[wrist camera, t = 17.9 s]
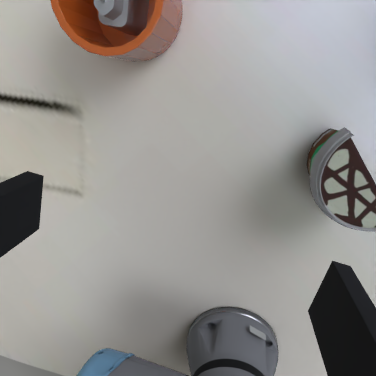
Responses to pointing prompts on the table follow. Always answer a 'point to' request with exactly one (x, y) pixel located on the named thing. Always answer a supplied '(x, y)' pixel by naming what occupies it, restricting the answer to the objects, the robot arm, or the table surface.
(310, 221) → the table surface
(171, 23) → the orange flower pot
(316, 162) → the food container
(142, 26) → the power adapter
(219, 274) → the table surface
